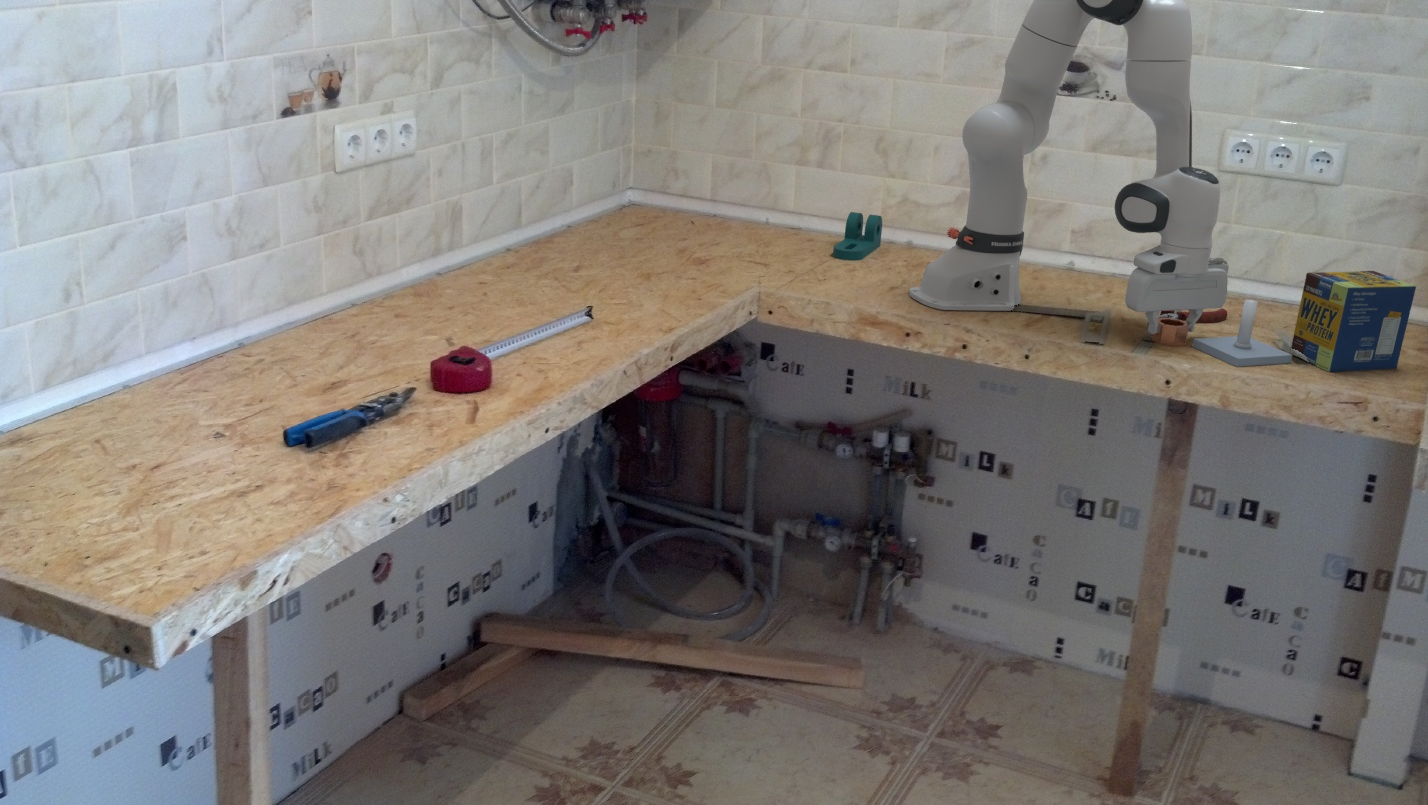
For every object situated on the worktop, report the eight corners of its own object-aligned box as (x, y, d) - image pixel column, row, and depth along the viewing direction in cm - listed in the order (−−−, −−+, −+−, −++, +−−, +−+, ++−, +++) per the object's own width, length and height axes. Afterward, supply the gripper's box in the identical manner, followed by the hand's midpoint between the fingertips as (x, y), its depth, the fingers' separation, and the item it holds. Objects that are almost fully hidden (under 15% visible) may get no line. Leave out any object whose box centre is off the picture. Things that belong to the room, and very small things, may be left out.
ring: (1166, 346, 248) (1169, 327, 247) (1145, 336, 253) (1148, 318, 252) (1192, 344, 250) (1196, 326, 249) (1171, 335, 255) (1175, 317, 254)
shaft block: (1236, 366, 238) (1247, 311, 235) (1191, 346, 249) (1201, 293, 246) (1290, 363, 243) (1302, 309, 239) (1244, 343, 253) (1254, 291, 250)
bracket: (851, 243, 315) (854, 209, 312) (880, 247, 313) (883, 213, 310) (829, 258, 299) (832, 223, 296) (858, 262, 297) (861, 227, 294)
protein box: (1287, 354, 248) (1305, 271, 243) (1356, 351, 253) (1374, 270, 247) (1328, 372, 239) (1347, 287, 233) (1398, 369, 243) (1418, 285, 238)
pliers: (1126, 323, 263) (1128, 310, 262) (1174, 308, 277) (1177, 295, 276) (1181, 338, 256) (1184, 325, 255) (1228, 321, 270) (1231, 308, 269)
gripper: (1218, 253, 253) (1204, 324, 258) (1126, 256, 246) (1114, 329, 250) (1241, 261, 247) (1227, 334, 252) (1148, 265, 240) (1135, 339, 245)
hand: (1170, 332), depth 251 cm, fingers closed on ring, 6 cm apart
